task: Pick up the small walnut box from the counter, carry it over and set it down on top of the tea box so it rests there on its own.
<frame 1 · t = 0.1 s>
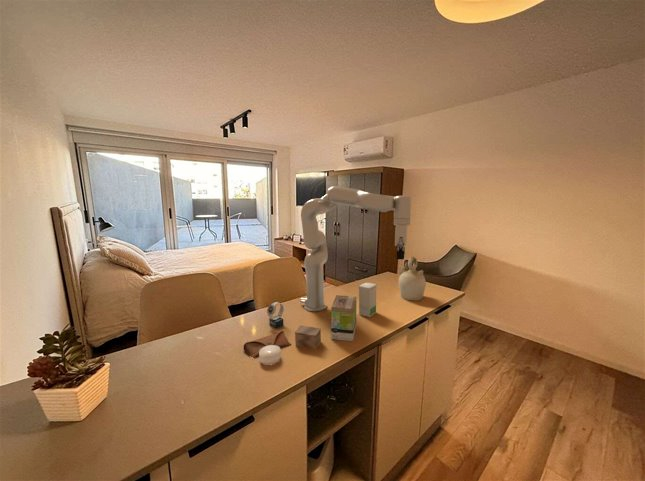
hand: (400, 256, 127), 31 cm above the kitchen counter, fingers open, 9 cm apart
jug: (411, 297, 158), on the kitchen counter
cream white dome: (270, 359, 99), on the kitchen counter
skincare box: (367, 313, 137), on the kitchen counter
watch: (276, 325, 126), on the kitchen counter
tea box: (344, 332, 118), on the kitchen counter
sunglasses case: (268, 348, 107), on the kitchen counter
walnut box: (308, 344, 109), on the kitchen counter
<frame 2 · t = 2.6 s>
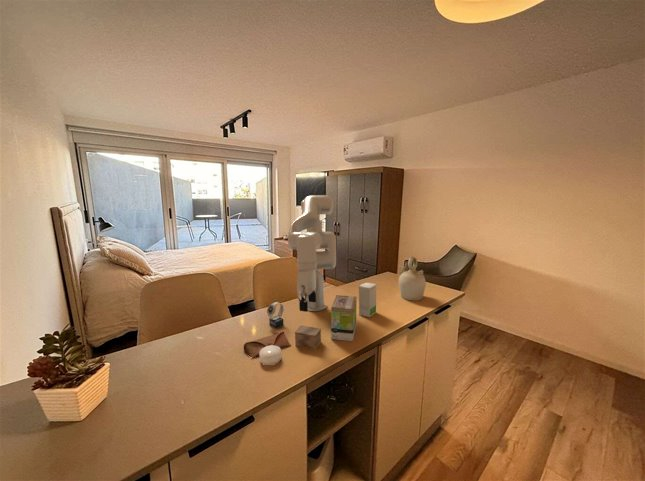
hand: (308, 306, 106), 17 cm above the kitchen counter, fingers open, 9 cm apart
nothing on the kitchen counter moved.
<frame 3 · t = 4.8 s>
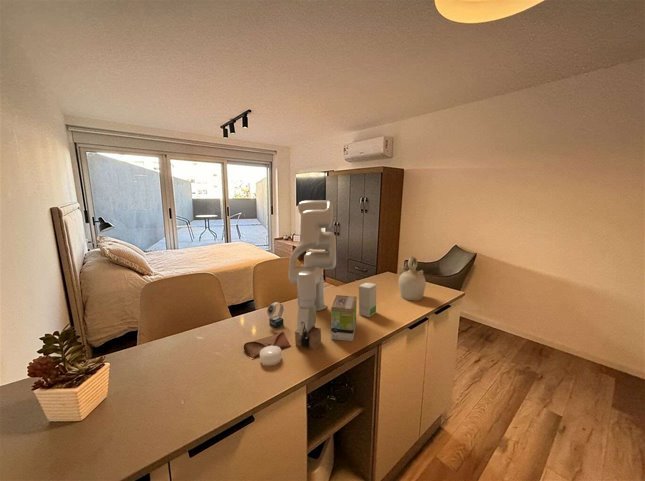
hand: (308, 341, 109), 1 cm above the kitchen counter, fingers closed on walnut box, 6 cm apart
walnut box: (308, 343, 109), on the kitchen counter, touching gripper
everything else where it was.
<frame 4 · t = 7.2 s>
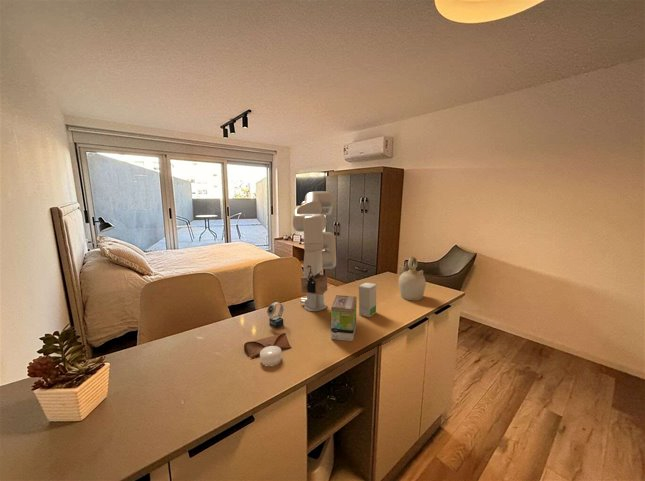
hand: (314, 288, 107), 23 cm above the kitchen counter, fingers closed on walnut box, 6 cm apart
walnut box: (314, 291, 108), point 22 cm above the kitchen counter, touching gripper
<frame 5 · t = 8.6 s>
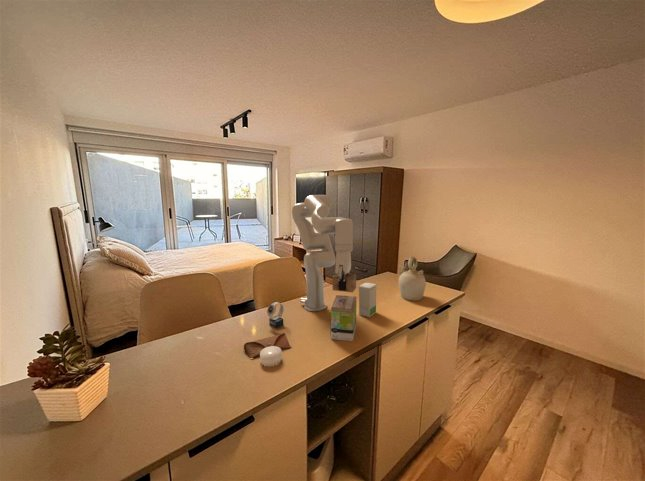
hand: (344, 287, 115), 21 cm above the kitchen counter, fingers closed on walnut box, 6 cm apart
walnut box: (344, 289, 115), point 20 cm above the kitchen counter, touching gripper
when the fingers open (17 cm above the kitchen counter, at t = 9.7 s): walnut box drops 1 cm, resting on tea box.
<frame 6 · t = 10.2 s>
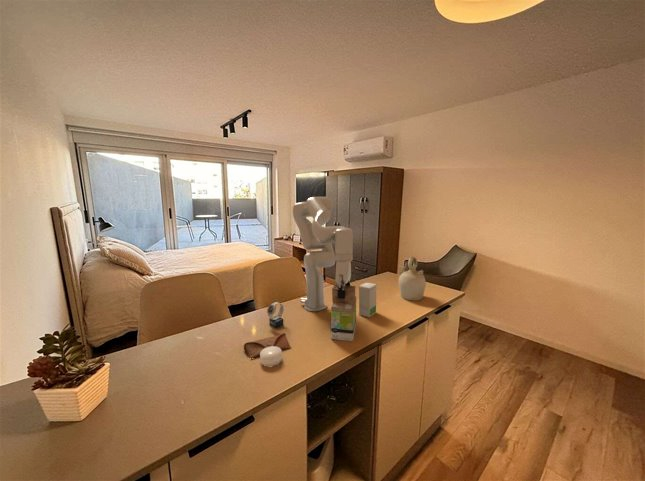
hand: (344, 294, 116), 18 cm above the kitchen counter, fingers open, 9 cm apart
tea box: (344, 332, 118), on the kitchen counter, touching walnut box
walnut box: (344, 300, 116), point 15 cm above the kitchen counter, touching tea box
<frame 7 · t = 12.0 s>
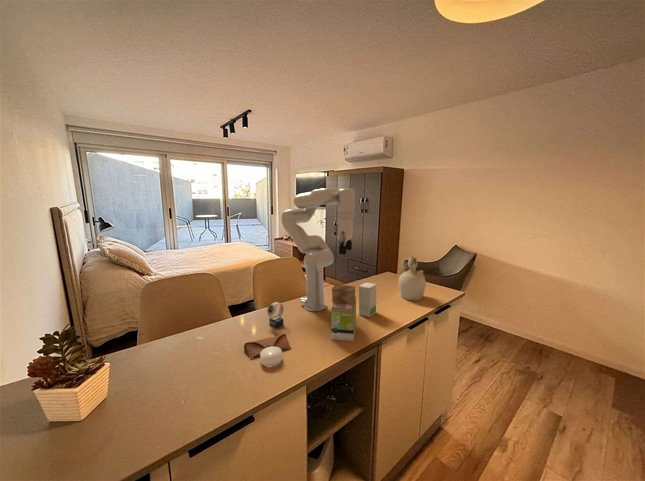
hand: (345, 251, 123), 35 cm above the kitchen counter, fingers open, 9 cm apart
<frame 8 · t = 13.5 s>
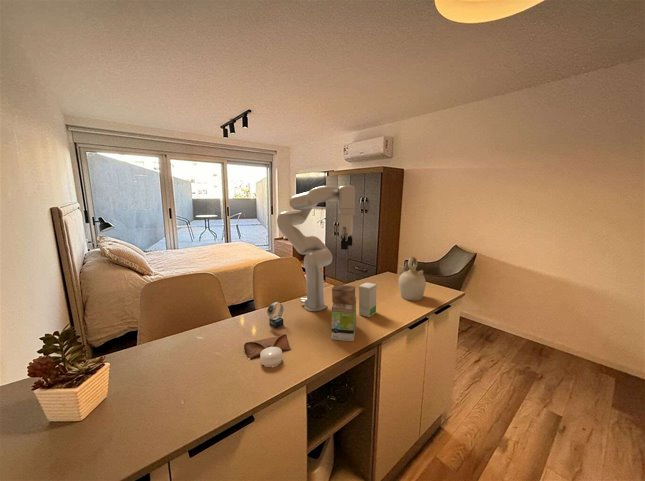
hand: (346, 247, 126), 36 cm above the kitchen counter, fingers open, 9 cm apart
at the end: walnut box inside the target area (0.1 cm from its centre), point 14.6 cm above the kitchen counter; walnut box 0.3 cm from the tea box (horizontally); the gripper is holding nothing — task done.
